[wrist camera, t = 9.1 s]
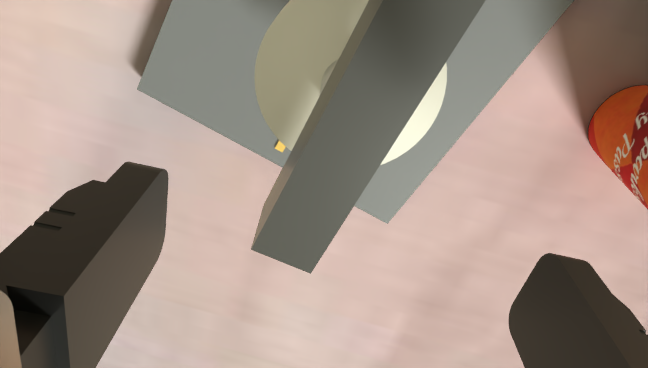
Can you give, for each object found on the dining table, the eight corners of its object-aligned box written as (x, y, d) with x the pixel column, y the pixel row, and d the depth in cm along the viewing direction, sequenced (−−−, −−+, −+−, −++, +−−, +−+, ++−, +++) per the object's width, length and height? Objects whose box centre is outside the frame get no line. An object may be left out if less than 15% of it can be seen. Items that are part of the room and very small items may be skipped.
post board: (581, -26, 26) (668, -11, 19) (385, 212, 35) (396, 282, 28) (284, -262, 21) (256, -354, 14) (145, 82, 30) (87, 127, 23)
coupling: (325, -101, 18) (313, -123, 10) (488, -4, 19) (579, 37, 12) (230, 126, 23) (176, 219, 15) (365, 188, 24) (376, 299, 17)
